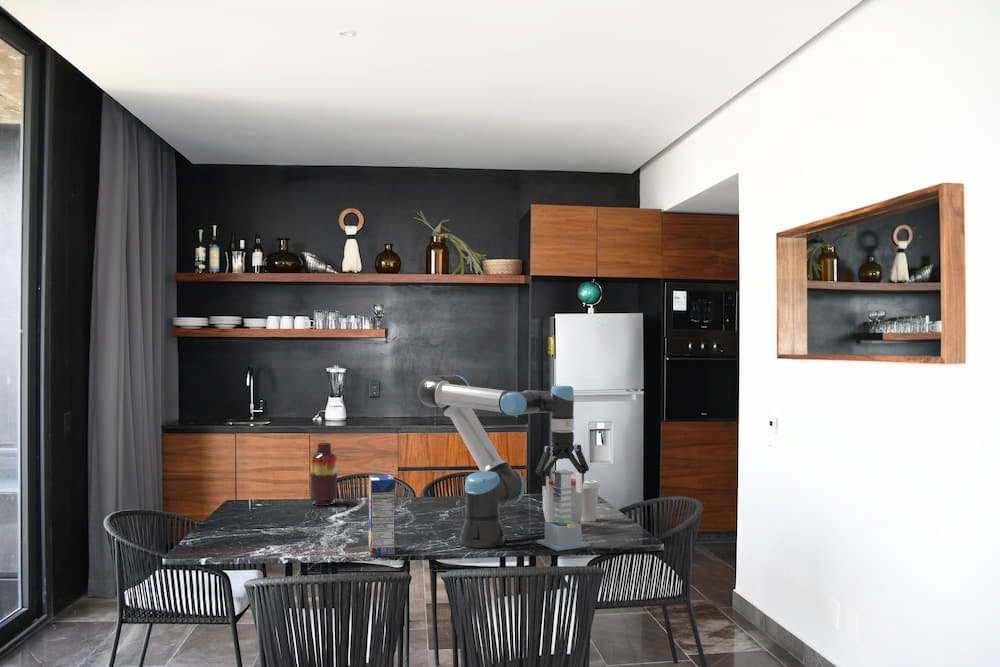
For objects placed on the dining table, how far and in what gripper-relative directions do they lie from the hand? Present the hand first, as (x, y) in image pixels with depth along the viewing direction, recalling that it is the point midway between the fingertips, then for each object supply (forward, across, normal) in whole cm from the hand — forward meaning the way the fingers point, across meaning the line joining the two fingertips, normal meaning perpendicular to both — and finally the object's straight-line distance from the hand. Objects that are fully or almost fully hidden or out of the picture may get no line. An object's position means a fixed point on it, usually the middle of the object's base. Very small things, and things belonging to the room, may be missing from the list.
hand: (562, 494), depth 261 cm
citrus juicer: (+17, +15, +23) cm, 32 cm away
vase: (+17, -51, +109) cm, 121 cm away
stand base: (+17, 0, 0) cm, 17 cm away
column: (+10, 0, 0) cm, 10 cm away
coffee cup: (+17, +30, +28) cm, 44 cm away
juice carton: (+17, -57, +21) cm, 63 cm away
